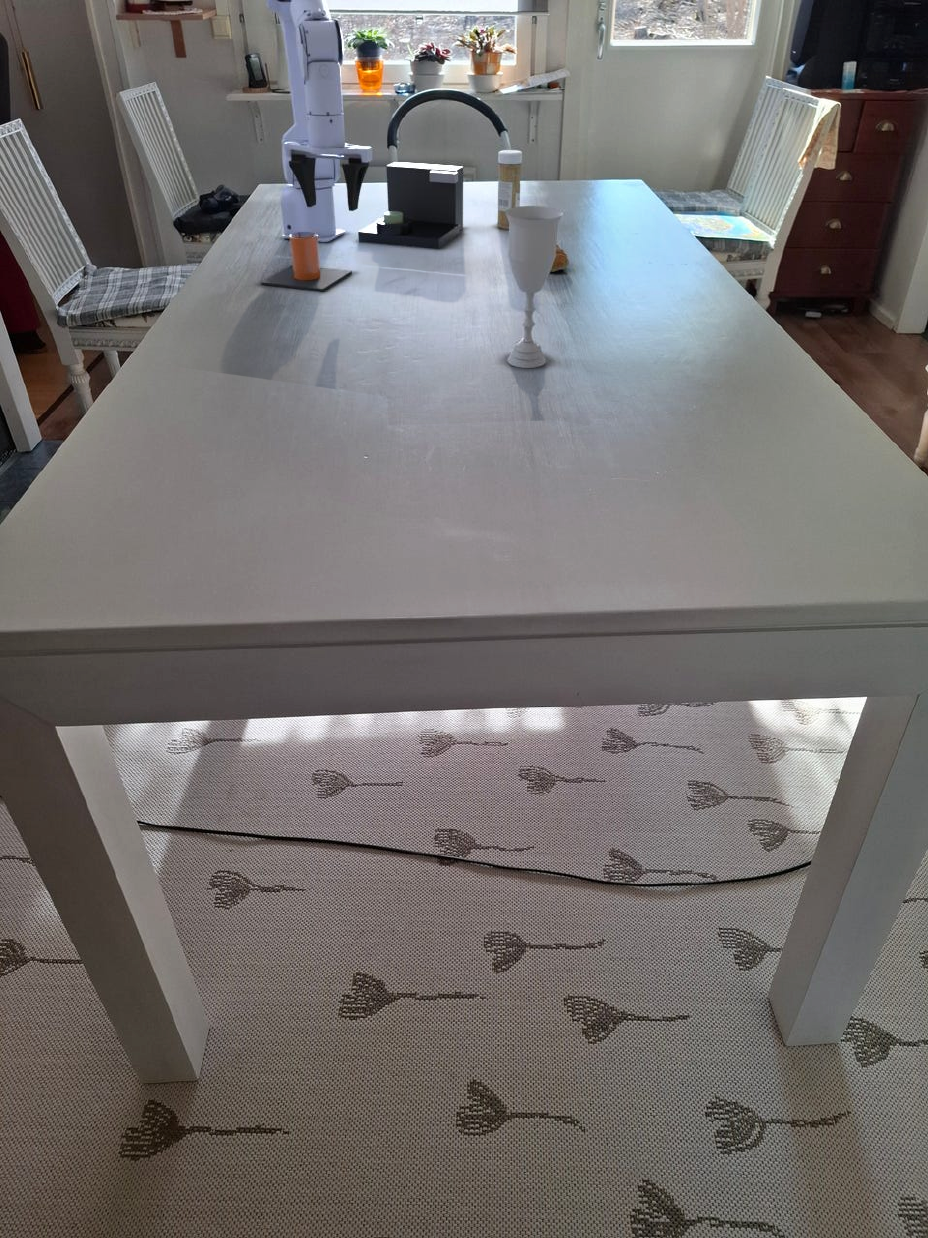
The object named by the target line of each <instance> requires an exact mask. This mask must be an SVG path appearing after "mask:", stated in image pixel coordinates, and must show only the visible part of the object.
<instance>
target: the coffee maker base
mask: <svg viewBox="0 0 928 1238" xmlns="http://www.w3.org/2000/svg"><path fill="white" fill-rule="evenodd" d="M357 235H358V242H359V243H366V244H367V243H369V244H378V245H387V246H399V247H410V248H420V249H431V250H440V249H442V248H444V247H445V245H447V244H448V243H450V242H451V241H453V240H454V239H456V238H457V237H458V236H460V235H461V230H460V224H448V223H436V222H425V221H413V220H410V219H407V218H403V223H398V224H389V223H384V217H381V218H378V219H376V220H375V222H373V223H371V224H369V225H367V226H366V227H365V228H362V229H360V230H359V231H358V234H357Z"/></svg>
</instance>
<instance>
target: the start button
mask: <svg viewBox="0 0 928 1238" xmlns="http://www.w3.org/2000/svg"><path fill="white" fill-rule="evenodd" d="M383 218H384V223H389V224H398V223H403V213H402V212H398V211H389V212H388V211H385V212H384V213H383Z"/></svg>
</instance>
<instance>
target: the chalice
mask: <svg viewBox="0 0 928 1238" xmlns="http://www.w3.org/2000/svg"><path fill="white" fill-rule="evenodd" d="M506 216H507V218H508V221H509V229H508V247H507V248H508V249H507V250H508V251H507V253H508V254H507V257H508V260H509V264H510V268H511V272H512V274H513V277H514V279H515V282H516V284H517V287H518V290H519V291H520V292H522V293H523V294H525V303H524V306H523V308H522V310H523V312H524V315H525V317H524V320H523V321H522V322H521V325H522V326H523V329H524V334H523V337H522V338H521V340H518V341H516V342H515V343H514V345H513V346H512V349H511V351H510V355H509V357H508V358H507V363H508V364H509V365H511V366H514V367H516V368H522V369H531V368H533V369H534V368H539V367H542V366H544V365H545V364H546V362H547V360H546V358H545V356H544V352H543V350H542V346H541V344H540V343H539V342H538V341H536V340H535V339H534V338H533V336H532V332H533V328H534V326H535V325H536V322H535V321H534V319H533V316H534V315H533V314H534V312H535V311H536V307H535V303H534V297H535V294H537V293H539V292H541V291H542V289H543V287H544V285H545V283H546V281H547V279H548V277H549V275H550V273H551V272H552V271H551V268H552V265H553V263H554V260H555V257H556V245H557V241H558V227H559V225H558V224H559V223H560V221H561V218H562V216H563V211H562V210H560V209H557V208H554V207H550V206H549V207H548V206H540V205H520V207H514V208H510V209H508V210H506Z"/></svg>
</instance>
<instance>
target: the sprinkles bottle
mask: <svg viewBox="0 0 928 1238" xmlns="http://www.w3.org/2000/svg"><path fill="white" fill-rule="evenodd" d="M497 154H498V155H497V163H498V180H497V222H496V226H497V227H498V229H504V230H509V221H508V218H507V216H506V210H508V209H510V208H514V207H520V206H521V169H522V168H521V167H522V162H523V152H522V151H521V150H517V149H503V150H500V151H498V153H497Z"/></svg>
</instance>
